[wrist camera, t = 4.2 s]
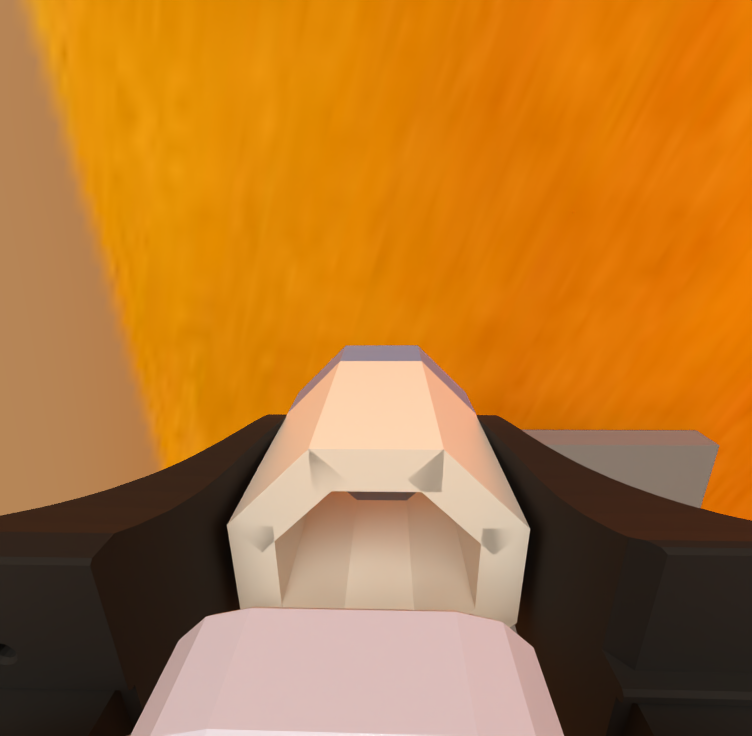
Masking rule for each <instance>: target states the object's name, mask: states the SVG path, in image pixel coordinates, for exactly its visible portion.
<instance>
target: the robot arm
mask: <svg viewBox="0 0 752 736" xmlns="http://www.w3.org/2000/svg"><path fill="white" fill-rule="evenodd" d="M286 416H287V415H266V416H264V417H262V418H260V419H258V420H256V421H254V422H253V423H251V424H249V425H247V426H246V427H244V428H242V429H241V430H239V431H237V432H236V433H234V434H232V435H231V436H229V437H227V438H225V439H224V440H222V441H220V442H218V443H217V444H215V445H213V446H211V447H209V448H207V449H205V450H203V451H202V452H200V453H198V454H196V455H194V456H192V457H190V458H188V459H186V460H184V461H182V462H180V463H177V464H175V465H173V466H171V467H168V468H166V469H164V470H161V471H159V472H156V473H154V474H151V475H149V476H146V477H144V478H140V479H138V480H135V481H132V482H129V483H126V484H123V485H120V486H117V487H115V488H112V489H109V490H105V491H102V492H99V493H95V494H92V495H88V496H85V497H81V498H78V499H74V500H70V501H66V502H62V503H58V504H54V505H50V506H45V507H42V508H36V509H31V510H27V511H22V512H17V513H12V514H7V515H2V516H0V736H752V521H750V520H746V519H741V518H737V517H732V516H728V515H723V514H719V513H715V512H712V511H708V510H705V509H701V508H697V507H694V506H690V505H687V504H683V503H680V502H676V501H673V500H670V499H667V498H664V497H660V496H657V495H654V494H652V493H649V492H646V491H643V490H641V489H638V488H635V487H632V486H629V485H627V484H624V483H622V482H619V481H617V480H614V479H612V478H609V477H607V476H605V475H603V474H600V473H598V472H596V471H594V470H591V469H589V468H587V467H585V466H583V465H581V464H579V463H577V462H575V461H573V460H571V459H569V458H567V457H566V456H564V455H562V454H560V453H558V452H556V451H555V450H553V449H551V448H549V447H548V446H546V445H544V444H543V443H541V442H539V441H538V440H536V439H535V438H533V437H531V436H530V435H528V434H527V433H525V432H523V431H522V430H520V429H519V428H517V427H516V426H514V425H512V424H511V423H509V422H508V421H506V420H504V419H503V418H501V417H499V416H496V415H476V416H477V418H478V420H479V422H480V425H481V427H482V429H483V431H484V432H485V435H486V437H487V439H488V441H489V443H490V445H491V447H492V449H493V451H494V454H495V456H496V458H497V460H498V462H499V464H500V466H501V468H502V470H503V473H504V475H505V477H506V479H507V481H508V483H509V485H510V487H511V489H512V492H513V494H514V496H515V498H516V500H517V502H518V504H519V506H520V509H521V511H522V513H523V515H524V517H525V519H526V521H527V523H528V525H529V528H530V534H529V541H528V548H527V555H526V562H525V569H524V576H523V583H522V590H521V597H520V604H519V611H518V618H517V623H516V624H515V627H516V631H517V634H516V633H515V632H514V631H513V630H512V629H510V628H509V627H508V626H507V625H506V624H504V623H503V622H501V621H498V620H495V619H491V618H486V617H482V616H477V615H473V614H468V613H464V612H459V611H454V610H405V609H350V608H294V607H251V608H245V609H240V604H239V598H238V591H237V585H236V579H235V573H234V566H233V560H232V554H231V548H230V542H229V535H228V529H227V524H228V522H229V520H230V519H231V517H232V515H233V513H234V511H235V509H236V508H237V506H238V504H239V502H240V500H241V498H242V497H243V495H244V493H245V491H246V489H247V487H248V486H249V484H250V482H251V480H252V478H253V476H254V475H255V473H256V471H257V469H258V467H259V465H260V464H261V462H262V460H263V458H264V456H265V454H266V453H267V451H268V449H269V447H270V445H271V443H272V441H273V440H274V438H275V436H276V434H277V432H278V431H279V429H280V427H281V425H282V423H283V422H284V420H285V418H286Z"/></svg>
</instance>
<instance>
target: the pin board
mask: <svg viewBox="0 0 752 736" xmlns="http://www.w3.org/2000/svg"><path fill="white" fill-rule="evenodd" d="M522 431H523V432H525V433H527V434H528V435H530V436H531V437H533V438H535V439H536V440H538V441H539V442H541V443H543V444H544V445H546V446H548V447H549V448H551V449H553V450H555V451H556V452H558V453H560V454H562V455H564V456H566V457H567V458H569V459H571V460H573V461H575V462H577V463H579V464H581V465H583V466H585V467H587V468H589V469H591V470H594V471H596V472H598V473H600V474H603V475H605V476H607V477H609V478H612V479H614V480H617V481H619V482H622V483H624V484H627V485H629V486H632V487H635V488H638V489H641V490H643V491H646V492H649V493H652V494H654V495H657V496H660V497H664V498H667V499H670V500H673V501H676V502H680V503H683V504H687V505H690V506H694V507H697V508H700V507H701V504H702V501H703V497H704V494H705V491H706V488H707V484H708V481H709V478H710V474H711V471H712V468H713V465H714V461H715V458H716V455H717V452H718V448H719V445H718V444H716V443H715V442H713V441H712V440H710V439H709V438H707V437H706V436H704V435H703V434H701V433H699V432H698V431H688V430H522ZM510 629H512V630H513V631H514V632H515V633H516V634H517V631H516V627H515V624H514V625H513V626H511V627H510Z"/></svg>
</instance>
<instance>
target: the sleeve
mask: <svg viewBox="0 0 752 736" xmlns="http://www.w3.org/2000/svg"><path fill="white" fill-rule="evenodd" d="M227 529H228V535H229V542H230V548H231V554H232V560H233V566H234V573H235V579H236V585H237V591H238V598H239V604H240V609H245V608H251V607H294V608H350V609H405V610H454V611H459V612H464V613H468V614H473V615H477V616H482V617H486V618H491V619H495V620H498V621H501V622H503V623H504V624H506V625H507V626H508V627H509V628H510V627H511V626H513V625H514V624H516V623H517V618H518V611H519V604H520V597H521V590H522V583H523V576H524V569H525V562H526V555H527V548H528V541H529V534H530V528H529V525H528V523H527V521H526V519H525V517H524V515H523V513H522V511H521V509H520V506H519V504H518V502H517V500H516V498H515V496H514V494H513V492H512V489H511V487H510V485H509V483H508V481H507V479H506V477H505V475H504V473H503V470H502V468H501V466H500V464H499V462H498V460H497V458H496V456H495V454H494V451H493V449H492V447H491V445H490V443H489V441H488V439H487V437H486V435H485V432H484V431H483V429H482V427H481V425H480V422H479V420H478V418H477V416H476V413H475V411H474V409H473V407H472V405H471V403H470V401H469V399H468V396H467V394H466V393H465V392H464V391H463V390H462V389H461V388H460V387H459V386H458V385H457V384H456V383H455V382H454V381H453V380H452V379H451V378H450V377H449V376H448V375H447V374H446V373H445V372H444V371H443V370H442V369H441V368H440V367H439V366H438V365H437V364H436V363H435V362H434V361H433V360H432V359H431V358H430V357H429V356H428V355H427V354H426V353H425V352H424V351H423V350H422V349H421V348H420V347H419V346H345V347H344V348H343V349H342V350H341V351H340V352H339V353H338V354H337V355H336V356H335V357H334V358H333V359H332V360H331V361H330V362H329V363H328V364H327V365H326V366H325V367H324V368H323V369H322V370H321V371H320V372H319V373H318V374H317V375H316V376H315V377H314V378H313V379H312V380H311V381H310V382H309V383H308V384H307V385H306V386H305V387H304V388H303V389H302V390H301V391H300V392H299V394H298V396H297V397H296V399H295V401H294V403H293V405H292V407H291V408H290V410H289V412H288V414H287V416H286V418H285V420H284V422H283V423H282V425H281V427H280V429H279V431H278V432H277V434H276V436H275V438H274V440H273V441H272V443H271V445H270V447H269V449H268V451H267V453H266V454H265V456H264V458H263V460H262V462H261V464H260V465H259V467H258V469H257V471H256V473H255V475H254V476H253V478H252V480H251V482H250V484H249V486H248V487H247V489H246V491H245V493H244V495H243V497H242V498H241V500H240V502H239V504H238V506H237V508H236V509H235V511H234V513H233V515H232V517H231V519H230V520H229V522H228V524H227Z"/></svg>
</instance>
